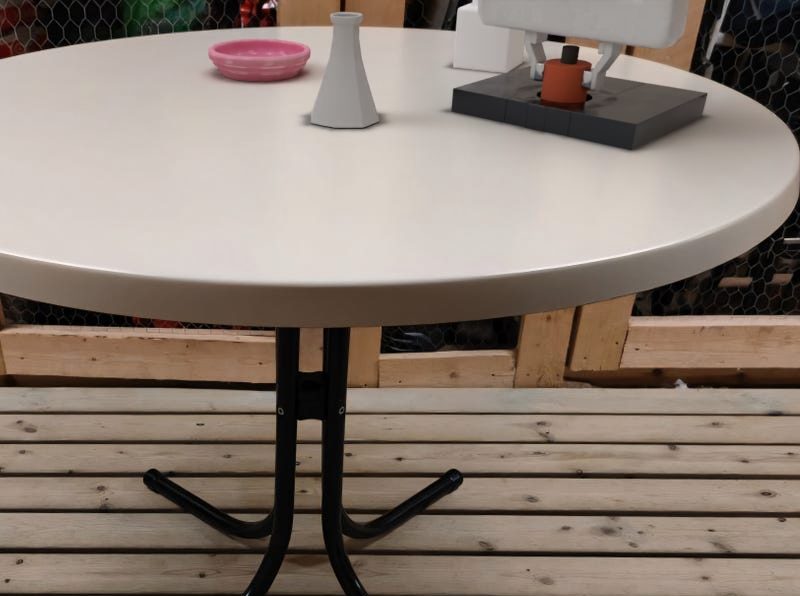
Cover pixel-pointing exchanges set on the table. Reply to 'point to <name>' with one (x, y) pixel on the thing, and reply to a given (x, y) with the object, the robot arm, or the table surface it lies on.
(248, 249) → the table surface
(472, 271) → the table surface
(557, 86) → the stopper
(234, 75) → the pink shallow round dish
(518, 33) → the medicine bottle
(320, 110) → the flask
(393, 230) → the table surface
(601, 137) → the drain plate
